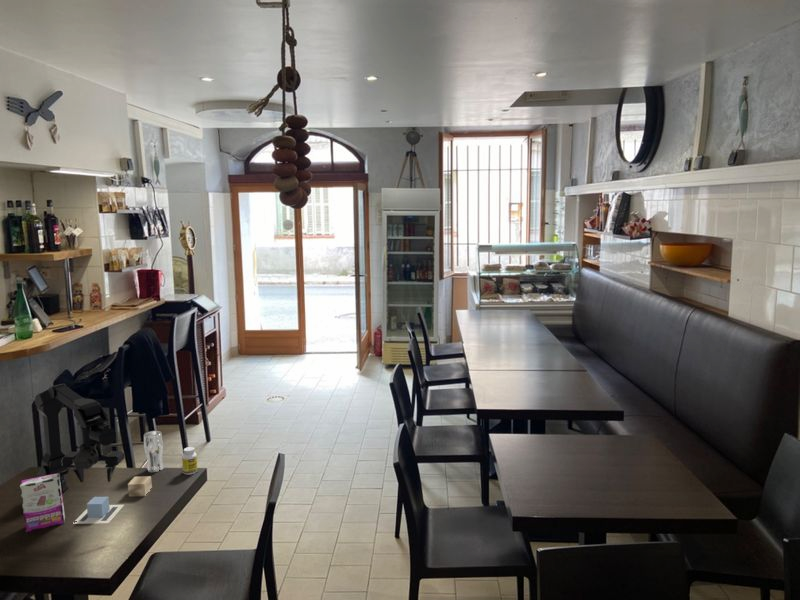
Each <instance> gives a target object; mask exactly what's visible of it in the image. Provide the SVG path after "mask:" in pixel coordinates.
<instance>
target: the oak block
mask: <svg viewBox="0 0 800 600" xmlns="http://www.w3.org/2000/svg"><path fill="white" fill-rule="evenodd" d="M151 488H152V489H153V483H152V476H150V475H149V476H147V475H145V476H144V475H143V476H142V475H141V476H133V478H132V479H131V480H130V481H129V482H128V483H127V489H128V490H127V491H128V497H146V496H147V495H148V494H149V493H148V492H151V490H152V489H151ZM150 489H151V490H150ZM147 493H148V494H147ZM146 494H147V495H146Z"/></svg>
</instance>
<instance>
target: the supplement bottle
mask: <svg viewBox="0 0 800 600" xmlns="http://www.w3.org/2000/svg"><path fill="white" fill-rule="evenodd" d="M181 458H182V473H183V474H184V475H186V476H187V475H194V474H196V473H197V472H198V457H197V453H196V452H195V447H193V446H188V447H185V448H184V449H183V454H182V457H181Z"/></svg>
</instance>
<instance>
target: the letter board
mask: <svg viewBox="0 0 800 600" xmlns="http://www.w3.org/2000/svg"><path fill="white" fill-rule="evenodd" d="M124 506H125V504H109V507H110V510H109V511H108V512H107V514H106V515H105V516H104V517H103V518H88V512H87V508H86V509H85V510H84V511H83V512H82V513H81V514H79V516H78V517H77V518H76V519H75V520H74V521H77V522H75V523H74V521H73V524H74V525H76V524H77V525H78V524H79V525H80V524H81V525H83V524H86V525H88V524H91V525H92V524H110V522H111V521H112V519H113V518H114V517H115V516H116V515H117V514H118V513H119V512H120V511H121V509H122V508H123V507H124ZM73 524H72V525H73Z"/></svg>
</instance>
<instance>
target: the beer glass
mask: <svg viewBox="0 0 800 600" xmlns="http://www.w3.org/2000/svg"><path fill="white" fill-rule="evenodd" d="M162 433H163V432H162V431H160V430H151V431H148V432H144V434H143V447H144V448H143V449H144V452H145V456H146V460H147V470H148V471H147V472H148V473H158V472H160V471H159V470H161V471H163V470H164V464H163V451H164V450H163V449H164V442H163V435H162Z"/></svg>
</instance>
